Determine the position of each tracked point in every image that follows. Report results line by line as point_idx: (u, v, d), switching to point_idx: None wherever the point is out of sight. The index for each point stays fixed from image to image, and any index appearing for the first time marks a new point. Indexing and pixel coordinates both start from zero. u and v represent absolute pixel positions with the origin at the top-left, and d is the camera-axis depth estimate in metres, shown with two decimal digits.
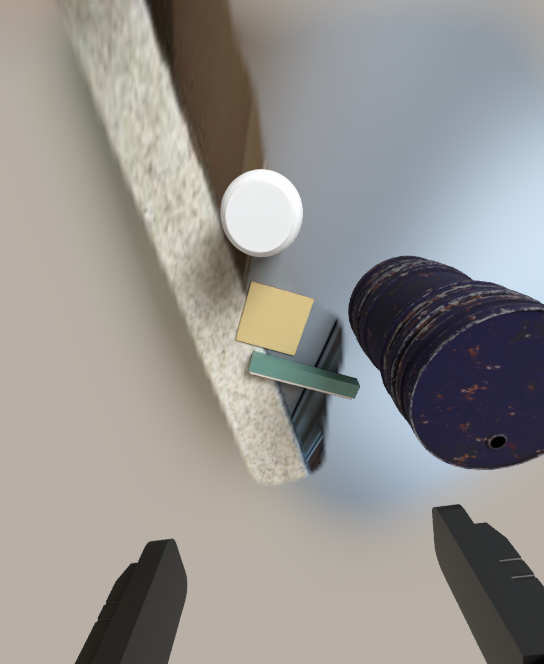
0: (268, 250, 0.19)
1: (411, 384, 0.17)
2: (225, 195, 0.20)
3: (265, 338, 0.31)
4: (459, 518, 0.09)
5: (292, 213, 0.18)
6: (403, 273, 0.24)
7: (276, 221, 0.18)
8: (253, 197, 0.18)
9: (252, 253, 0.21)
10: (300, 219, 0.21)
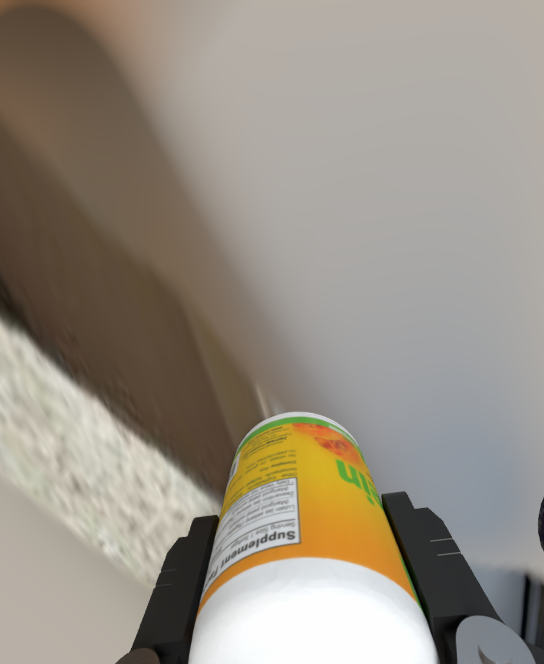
0: None
1: None
2: None
3: None
4: (401, 503, 0.09)
5: None
6: None
7: None
8: None
9: None
10: None
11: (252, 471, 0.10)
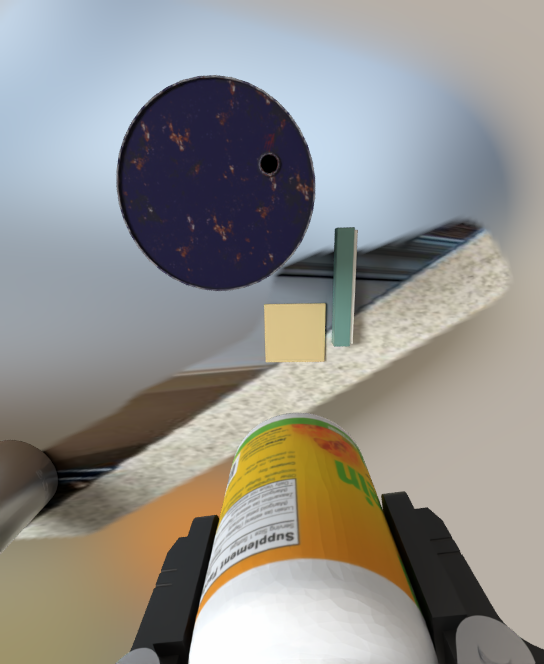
0: None
1: (237, 288, 0.17)
2: None
3: (315, 335, 0.32)
4: (401, 503, 0.09)
5: None
6: None
7: None
8: None
9: None
10: None
11: (251, 472, 0.10)
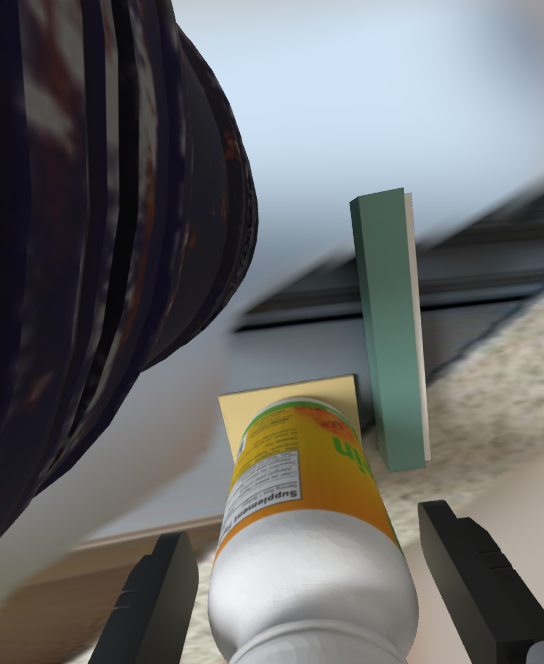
0: None
1: None
2: (210, 620, 0.08)
3: None
4: (442, 513, 0.09)
5: None
6: None
7: None
8: None
9: None
10: (413, 600, 0.08)
11: (259, 447, 0.11)
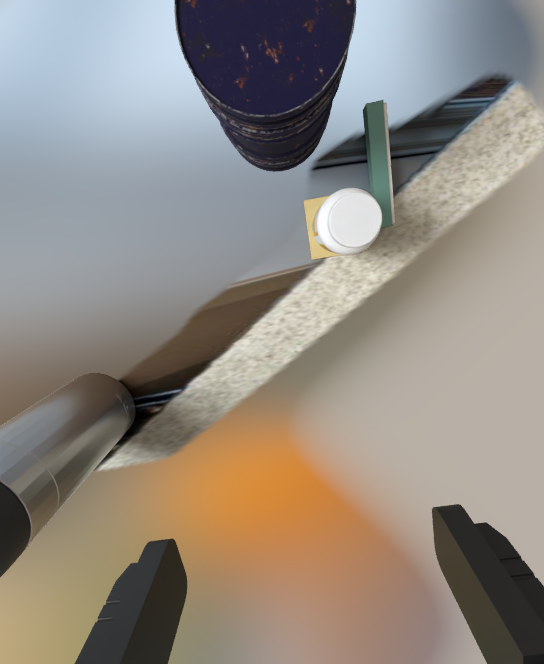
0: (370, 239, 0.25)
1: (293, 113, 0.19)
2: (319, 221, 0.27)
3: None
4: (459, 518, 0.09)
5: (377, 205, 0.24)
6: (240, 147, 0.28)
7: (368, 216, 0.24)
8: (346, 209, 0.24)
9: (354, 251, 0.27)
10: None
11: None
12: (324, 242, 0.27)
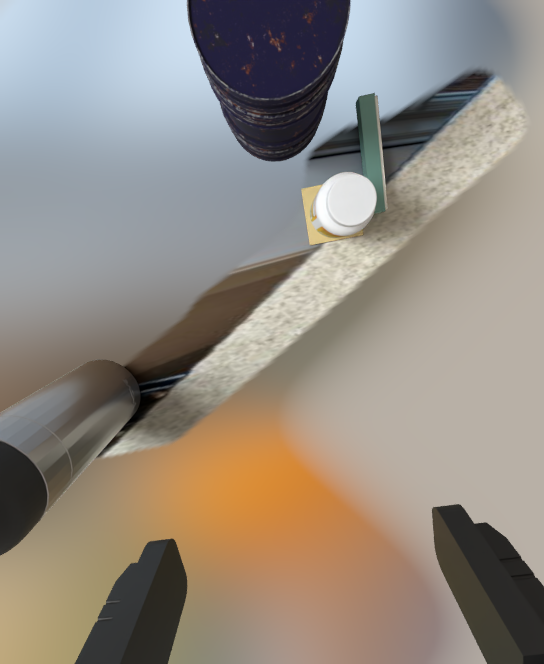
0: (366, 218, 0.26)
1: (294, 96, 0.20)
2: (318, 203, 0.29)
3: None
4: (459, 518, 0.09)
5: (372, 186, 0.26)
6: (242, 136, 0.29)
7: (364, 196, 0.26)
8: (343, 189, 0.26)
9: (351, 231, 0.29)
10: None
11: None
12: (323, 223, 0.29)
